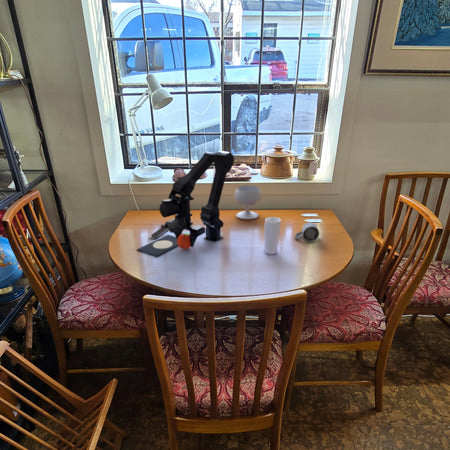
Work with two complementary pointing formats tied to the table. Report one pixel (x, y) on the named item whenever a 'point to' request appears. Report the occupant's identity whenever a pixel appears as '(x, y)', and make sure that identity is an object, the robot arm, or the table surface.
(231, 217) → the table surface
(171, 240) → the placemat
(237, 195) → the chalice
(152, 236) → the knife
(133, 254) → the table surface
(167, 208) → the robot arm
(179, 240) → the clementine
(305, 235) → the ceramic mug
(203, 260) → the table surface
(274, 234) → the drinking glass
